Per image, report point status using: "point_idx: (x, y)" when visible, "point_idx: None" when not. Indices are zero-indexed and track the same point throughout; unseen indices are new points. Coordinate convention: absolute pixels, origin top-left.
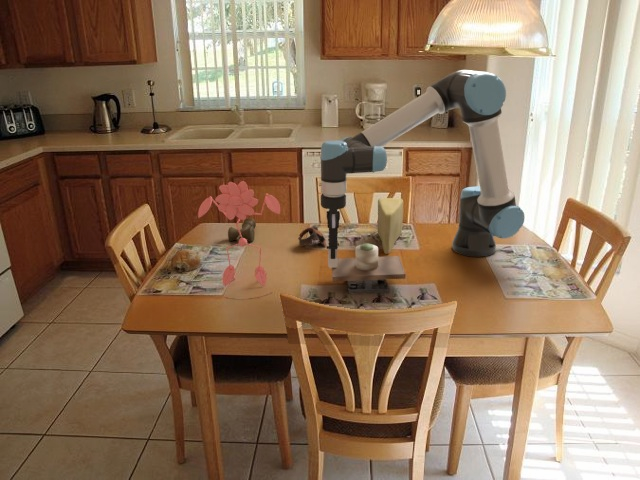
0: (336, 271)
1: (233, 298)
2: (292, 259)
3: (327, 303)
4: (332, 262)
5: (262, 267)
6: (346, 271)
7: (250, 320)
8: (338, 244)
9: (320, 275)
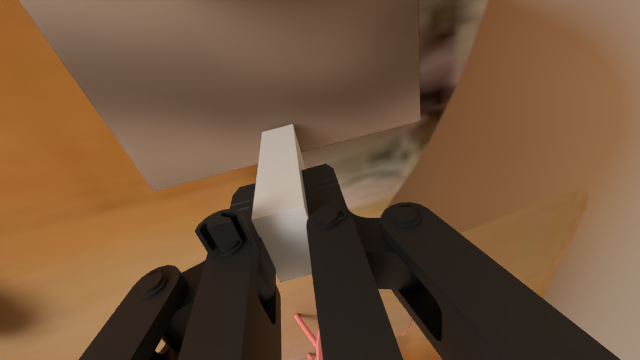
0: (341, 114)
1: (410, 320)
2: (102, 305)
3: (449, 92)
4: (303, 168)
5: (318, 356)
6: (335, 45)
7: (521, 257)
8: (246, 225)
9: (196, 185)
